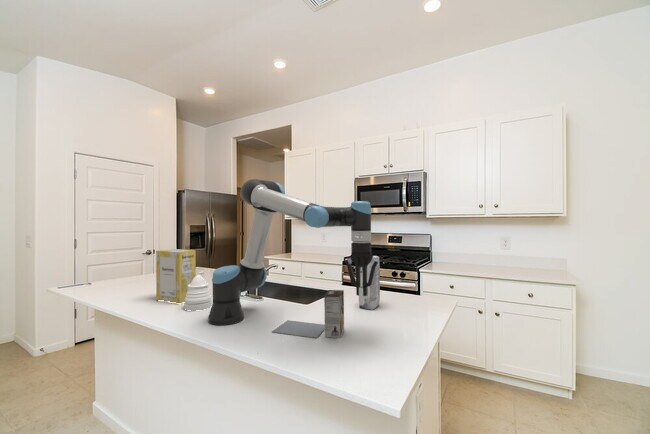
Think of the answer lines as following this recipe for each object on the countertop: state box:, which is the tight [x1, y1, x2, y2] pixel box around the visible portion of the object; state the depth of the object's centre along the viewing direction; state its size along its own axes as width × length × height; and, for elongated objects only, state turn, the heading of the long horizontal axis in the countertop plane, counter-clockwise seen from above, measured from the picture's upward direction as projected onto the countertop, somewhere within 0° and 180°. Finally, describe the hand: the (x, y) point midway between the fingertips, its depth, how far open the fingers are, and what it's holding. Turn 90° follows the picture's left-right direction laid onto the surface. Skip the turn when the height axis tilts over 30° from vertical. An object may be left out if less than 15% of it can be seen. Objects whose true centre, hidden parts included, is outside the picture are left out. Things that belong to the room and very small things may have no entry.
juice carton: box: [358, 255, 381, 311], centre depth 151 cm, size 9×10×27 cm
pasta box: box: [155, 248, 197, 303], centre depth 167 cm, size 18×10×28 cm, turn 66°
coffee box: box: [323, 289, 345, 339], centre depth 116 cm, size 9×6×16 cm
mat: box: [271, 319, 325, 340], centre depth 121 cm, size 19×14×1 cm
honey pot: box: [184, 271, 213, 312], centre depth 152 cm, size 13×13×18 cm
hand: (361, 304), depth 113 cm, fingers closed
